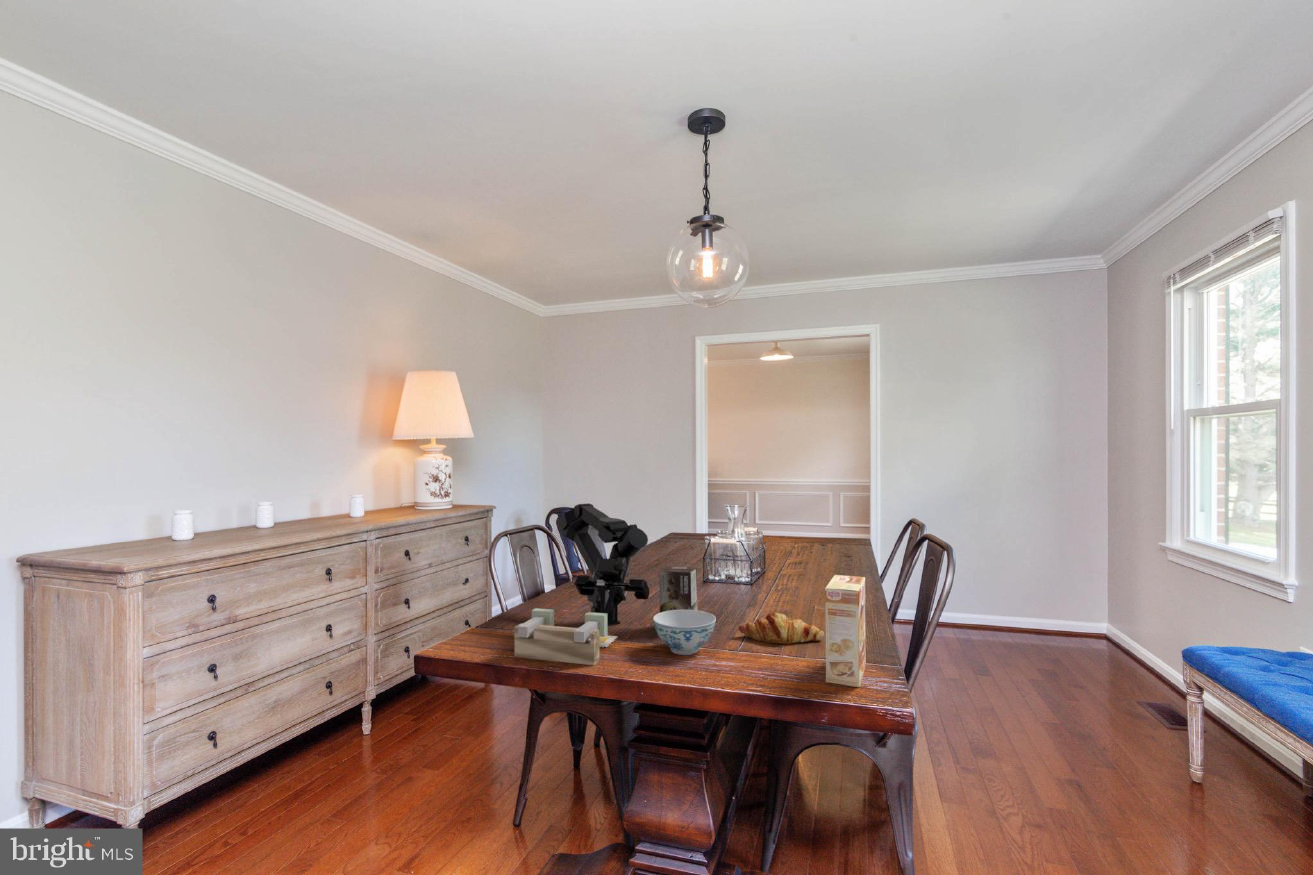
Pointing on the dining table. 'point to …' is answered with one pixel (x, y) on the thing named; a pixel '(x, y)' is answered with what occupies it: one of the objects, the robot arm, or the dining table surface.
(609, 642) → the card
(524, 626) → the button
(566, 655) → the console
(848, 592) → the coffeecake box
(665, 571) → the coffee box
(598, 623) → the button
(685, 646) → the chinaware
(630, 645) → the dining table surface
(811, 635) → the croissant
